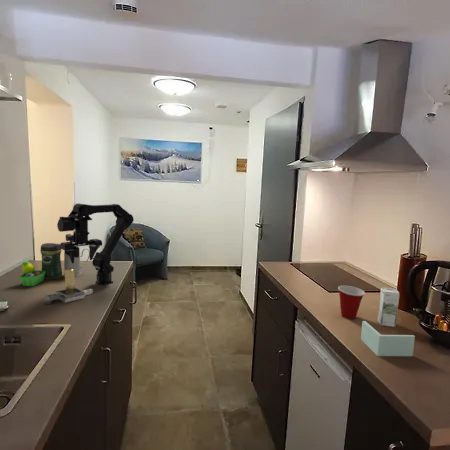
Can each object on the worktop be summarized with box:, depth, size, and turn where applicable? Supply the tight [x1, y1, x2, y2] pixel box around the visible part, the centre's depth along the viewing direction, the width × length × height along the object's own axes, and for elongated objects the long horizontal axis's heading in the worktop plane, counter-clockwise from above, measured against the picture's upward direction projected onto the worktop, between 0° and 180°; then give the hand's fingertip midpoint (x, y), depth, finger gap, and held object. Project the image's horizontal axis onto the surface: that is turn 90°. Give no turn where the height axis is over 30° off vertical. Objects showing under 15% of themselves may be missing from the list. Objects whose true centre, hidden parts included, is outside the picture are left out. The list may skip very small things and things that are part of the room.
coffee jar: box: [40, 242, 63, 280], centre depth 181 cm, size 10×8×19 cm
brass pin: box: [64, 268, 76, 295], centre depth 152 cm, size 4×4×13 cm
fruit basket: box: [19, 260, 46, 287], centre depth 171 cm, size 11×9×11 cm
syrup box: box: [377, 287, 400, 328], centre depth 137 cm, size 6×6×14 cm
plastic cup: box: [337, 285, 366, 320], centre depth 144 cm, size 11×11×12 cm
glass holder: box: [63, 246, 90, 278], centre depth 190 cm, size 9×14×15 cm, turn 135°
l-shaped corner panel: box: [360, 320, 416, 357], centre depth 118 cm, size 12×12×8 cm
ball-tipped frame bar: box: [44, 287, 94, 305], centre depth 153 cm, size 21×9×3 cm, turn 141°
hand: (81, 261), depth 166 cm, fingers open, 9 cm apart
